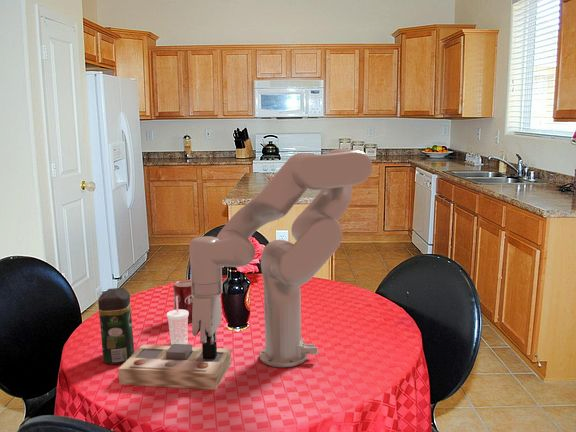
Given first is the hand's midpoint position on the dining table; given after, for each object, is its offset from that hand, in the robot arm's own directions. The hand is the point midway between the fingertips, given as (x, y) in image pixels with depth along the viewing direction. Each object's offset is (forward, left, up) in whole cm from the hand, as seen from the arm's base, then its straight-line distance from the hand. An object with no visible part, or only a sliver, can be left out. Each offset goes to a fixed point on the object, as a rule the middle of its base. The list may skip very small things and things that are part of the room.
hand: (209, 357), depth 133 cm
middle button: (+8, 0, 0) cm, 8 cm away
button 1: (+16, 0, -2) cm, 16 cm away
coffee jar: (+27, -5, -4) cm, 28 cm away
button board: (+8, +2, -4) cm, 9 cm away
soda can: (+18, -34, -4) cm, 39 cm away
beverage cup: (+14, -16, -4) cm, 22 cm away
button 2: (0, 0, -3) cm, 3 cm away
